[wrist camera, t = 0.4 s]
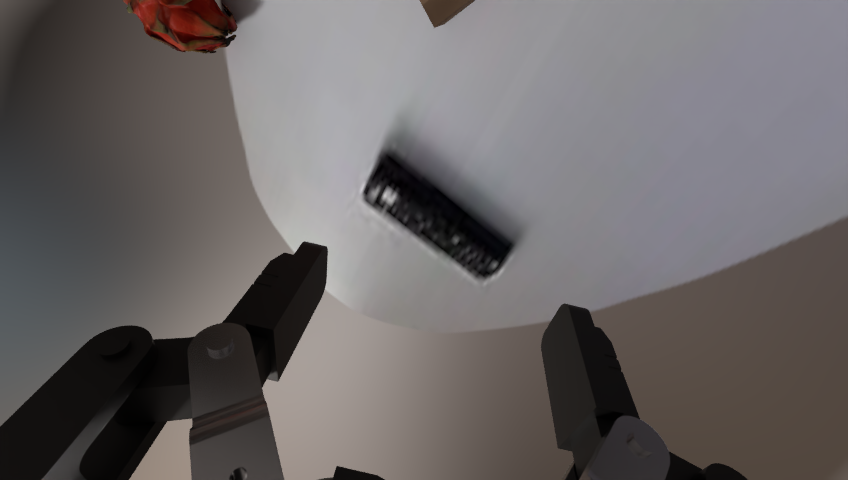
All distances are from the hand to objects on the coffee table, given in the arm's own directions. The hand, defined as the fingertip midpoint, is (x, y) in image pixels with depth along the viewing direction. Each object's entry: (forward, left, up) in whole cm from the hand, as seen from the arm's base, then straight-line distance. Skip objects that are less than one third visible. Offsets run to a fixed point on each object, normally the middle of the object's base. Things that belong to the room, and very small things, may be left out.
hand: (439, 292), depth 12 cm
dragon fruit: (-11, -33, -28) cm, 45 cm away
